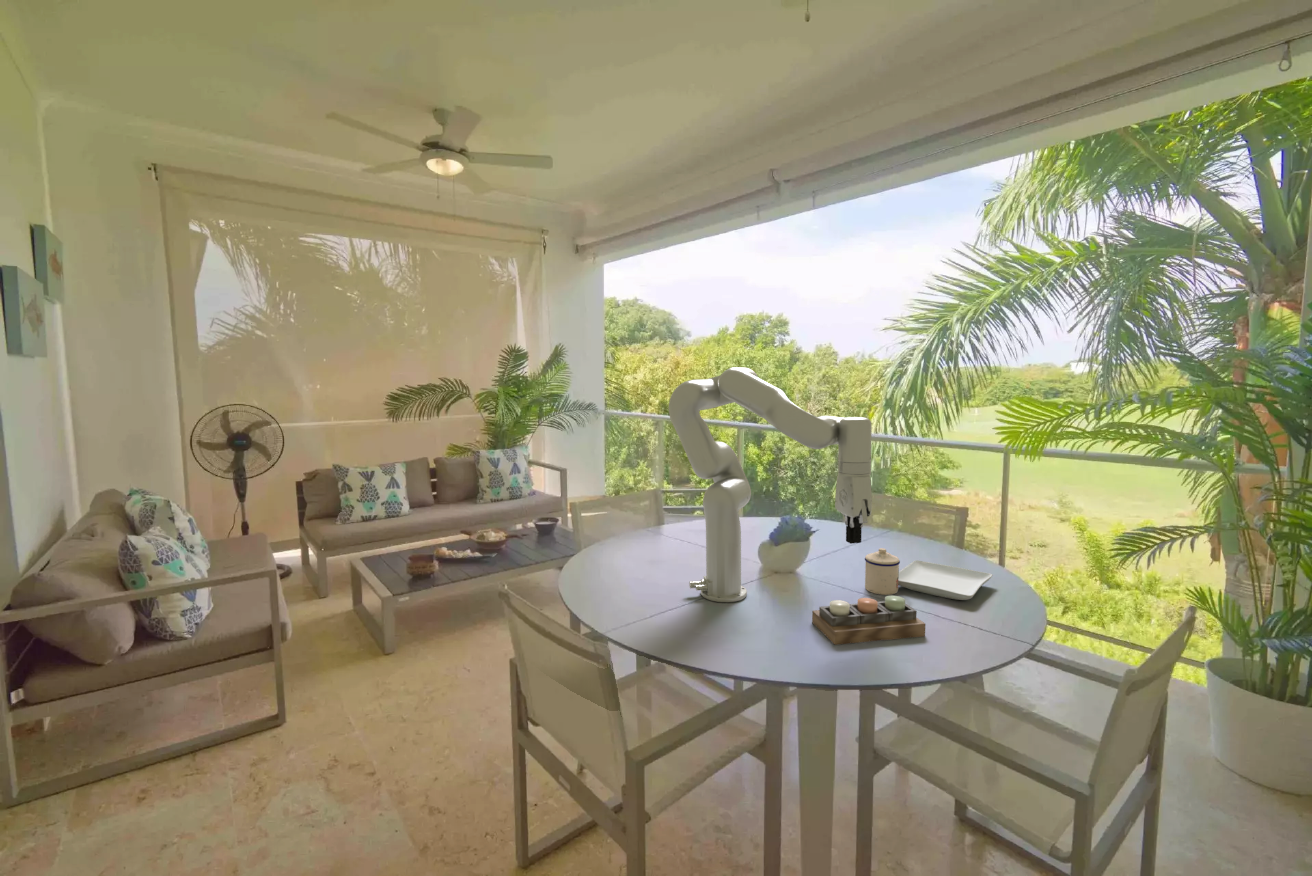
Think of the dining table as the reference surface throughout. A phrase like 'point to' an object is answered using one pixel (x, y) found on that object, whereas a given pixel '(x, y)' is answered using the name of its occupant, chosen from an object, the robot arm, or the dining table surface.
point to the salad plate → (942, 580)
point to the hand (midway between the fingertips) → (853, 542)
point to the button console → (868, 624)
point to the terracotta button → (867, 605)
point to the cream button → (839, 608)
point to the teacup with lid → (882, 572)
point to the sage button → (894, 603)
